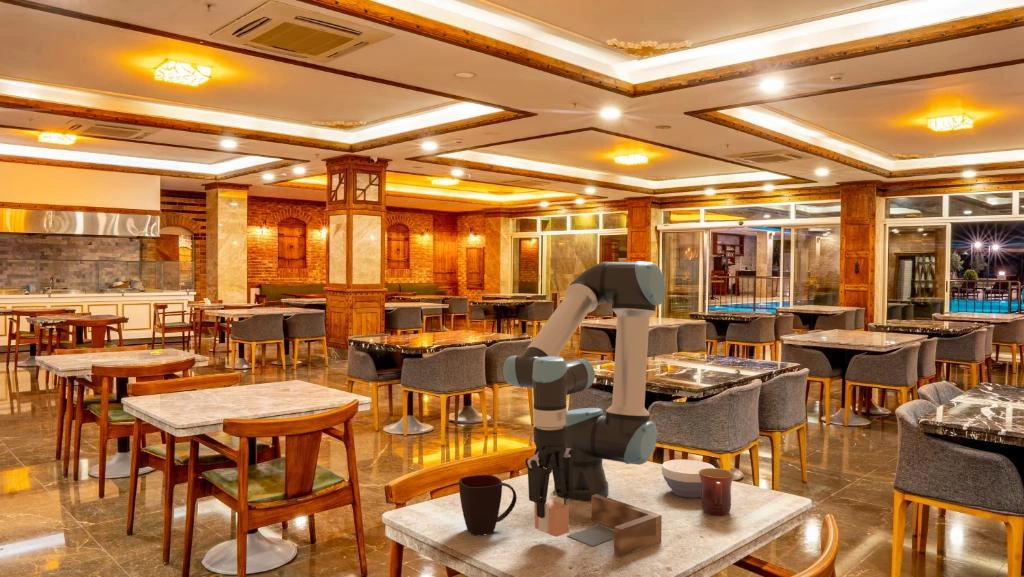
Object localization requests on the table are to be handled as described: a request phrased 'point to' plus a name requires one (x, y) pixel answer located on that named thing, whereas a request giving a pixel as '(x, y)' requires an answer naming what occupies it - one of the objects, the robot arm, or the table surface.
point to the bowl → (684, 476)
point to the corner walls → (627, 524)
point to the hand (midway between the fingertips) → (551, 527)
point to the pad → (593, 535)
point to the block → (556, 518)
